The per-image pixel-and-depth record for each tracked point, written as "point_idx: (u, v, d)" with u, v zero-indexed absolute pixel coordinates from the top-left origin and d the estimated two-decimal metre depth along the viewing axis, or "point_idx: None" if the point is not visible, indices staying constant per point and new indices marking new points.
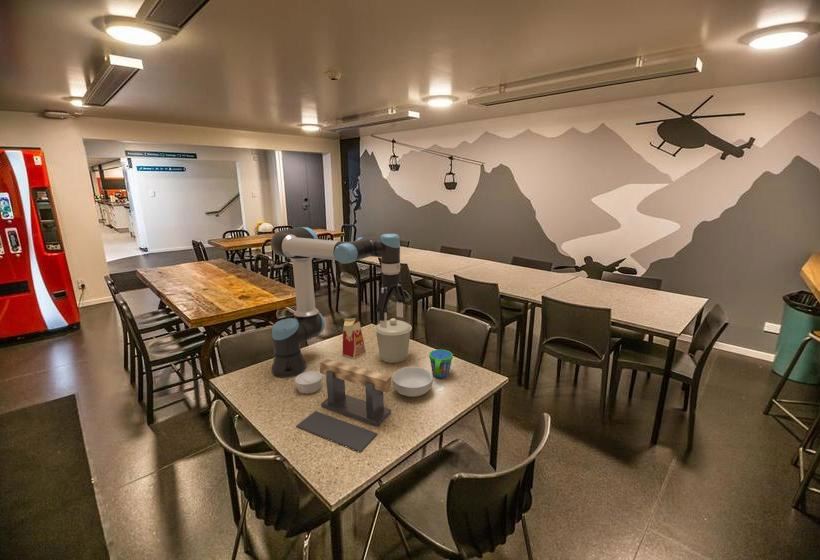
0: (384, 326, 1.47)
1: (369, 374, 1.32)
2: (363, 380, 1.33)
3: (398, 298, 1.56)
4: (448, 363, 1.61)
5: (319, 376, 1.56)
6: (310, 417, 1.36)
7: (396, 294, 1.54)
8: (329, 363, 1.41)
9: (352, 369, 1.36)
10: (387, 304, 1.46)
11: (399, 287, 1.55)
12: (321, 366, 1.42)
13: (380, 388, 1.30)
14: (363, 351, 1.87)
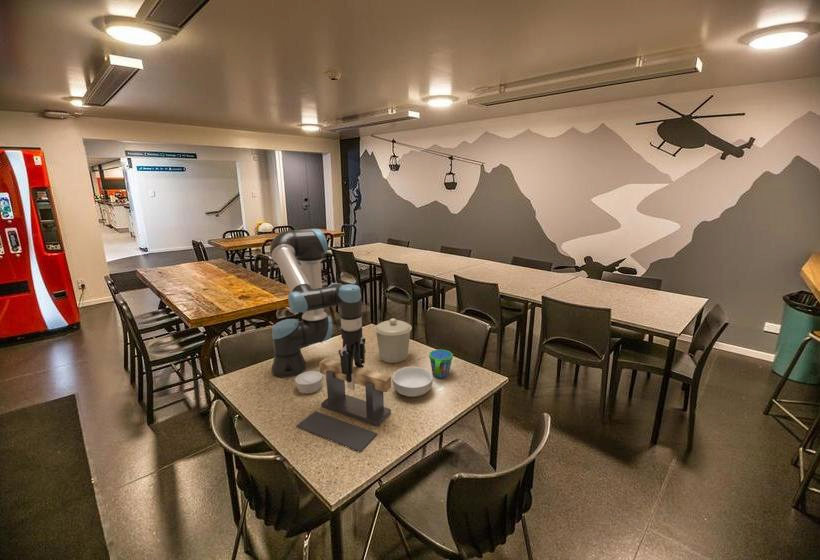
0: (352, 387, 1.35)
1: (369, 374, 1.32)
2: (363, 380, 1.33)
3: (356, 360, 1.37)
4: (448, 363, 1.61)
5: (319, 376, 1.56)
6: (310, 417, 1.36)
7: (356, 353, 1.36)
8: (329, 363, 1.41)
9: (352, 369, 1.36)
10: (352, 363, 1.33)
11: (361, 345, 1.38)
12: (321, 366, 1.42)
13: (380, 388, 1.30)
14: None
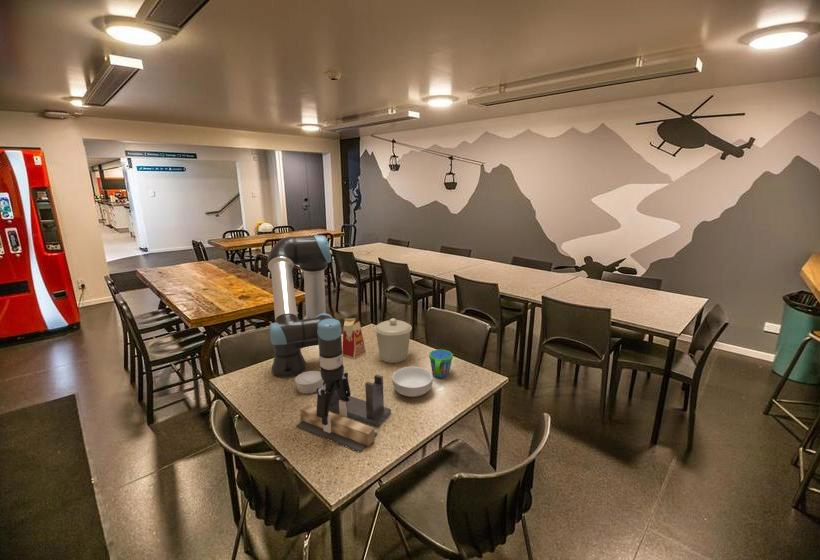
0: (328, 430, 1.24)
1: (351, 426, 1.24)
2: (345, 431, 1.25)
3: (341, 395, 1.29)
4: (448, 363, 1.61)
5: (319, 376, 1.56)
6: None
7: (338, 390, 1.27)
8: (310, 410, 1.32)
9: (334, 418, 1.28)
10: (329, 404, 1.22)
11: (344, 380, 1.29)
12: (301, 413, 1.33)
13: (363, 441, 1.22)
14: (363, 351, 1.87)
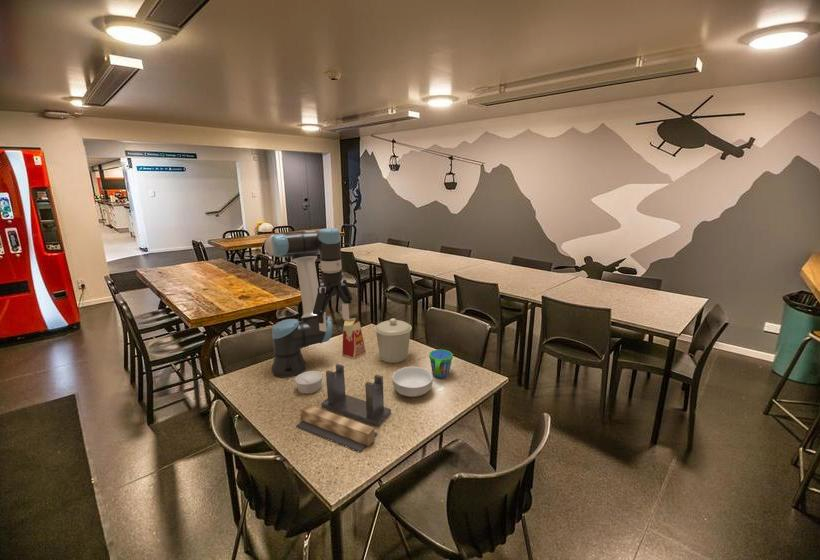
0: (323, 329, 1.34)
1: (351, 426, 1.24)
2: (345, 431, 1.25)
3: (343, 299, 1.44)
4: (448, 363, 1.61)
5: (319, 376, 1.56)
6: None
7: (340, 294, 1.41)
8: (310, 410, 1.32)
9: (334, 418, 1.28)
10: (326, 305, 1.34)
11: (343, 287, 1.43)
12: (301, 413, 1.33)
13: (363, 441, 1.22)
14: (363, 351, 1.87)
